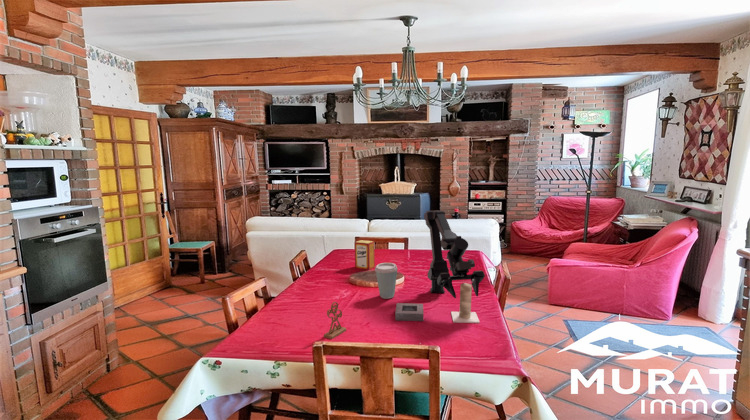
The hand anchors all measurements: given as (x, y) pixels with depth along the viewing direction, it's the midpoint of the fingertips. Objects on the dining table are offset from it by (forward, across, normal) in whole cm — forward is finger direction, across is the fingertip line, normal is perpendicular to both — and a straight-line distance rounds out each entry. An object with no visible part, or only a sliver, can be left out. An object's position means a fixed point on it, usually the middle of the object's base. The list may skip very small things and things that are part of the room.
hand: (466, 297), depth 158 cm
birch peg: (+5, 0, +7) cm, 9 cm away
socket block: (0, -21, +12) cm, 24 cm away
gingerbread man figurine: (+8, -52, +5) cm, 53 cm away
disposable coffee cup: (-16, -25, +30) cm, 42 cm away
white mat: (+5, 0, +7) cm, 9 cm away
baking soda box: (-53, -27, +66) cm, 89 cm away
